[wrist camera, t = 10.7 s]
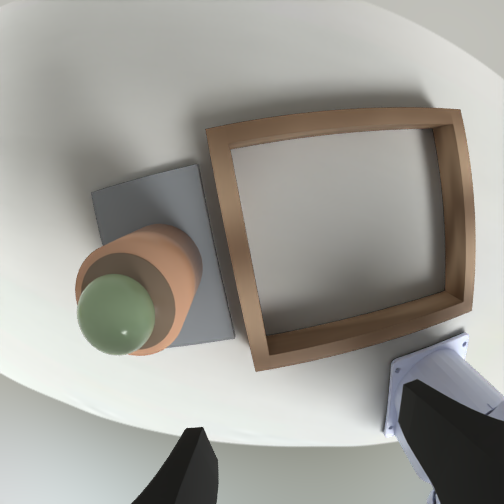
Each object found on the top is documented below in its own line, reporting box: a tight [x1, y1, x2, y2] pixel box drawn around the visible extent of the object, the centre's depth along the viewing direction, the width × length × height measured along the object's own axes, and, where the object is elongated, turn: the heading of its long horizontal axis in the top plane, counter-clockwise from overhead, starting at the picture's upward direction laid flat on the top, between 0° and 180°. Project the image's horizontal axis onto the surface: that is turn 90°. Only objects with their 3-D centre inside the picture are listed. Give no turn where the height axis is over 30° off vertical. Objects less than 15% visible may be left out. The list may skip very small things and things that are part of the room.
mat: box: [91, 164, 235, 348], centre depth 18 cm, size 11×7×1 cm, turn 11°
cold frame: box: [205, 107, 475, 372], centre depth 17 cm, size 14×16×2 cm
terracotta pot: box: [75, 224, 203, 356], centre depth 13 cm, size 5×5×9 cm
